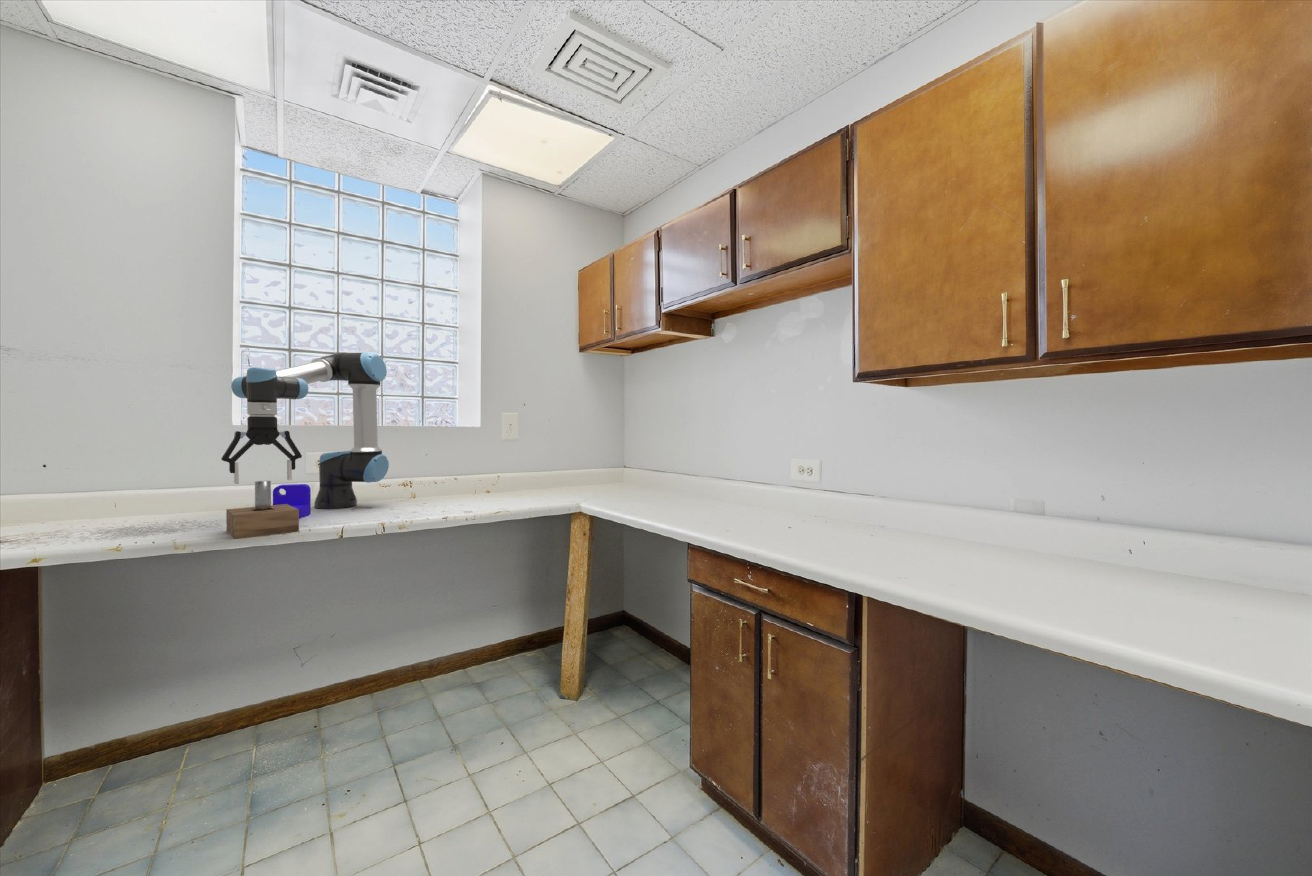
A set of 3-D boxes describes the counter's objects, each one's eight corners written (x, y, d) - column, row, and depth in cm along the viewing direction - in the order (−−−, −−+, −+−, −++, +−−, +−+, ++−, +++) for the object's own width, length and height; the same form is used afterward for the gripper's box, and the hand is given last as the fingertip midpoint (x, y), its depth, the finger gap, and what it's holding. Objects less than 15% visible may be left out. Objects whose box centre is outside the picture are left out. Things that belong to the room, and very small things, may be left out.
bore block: (226, 530, 159) (226, 509, 159) (287, 524, 171) (287, 504, 171) (234, 538, 148) (234, 515, 148) (298, 531, 160) (298, 509, 160)
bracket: (275, 515, 186) (275, 484, 186) (310, 514, 191) (310, 483, 191) (263, 524, 170) (263, 490, 170) (301, 522, 175) (301, 489, 175)
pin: (253, 524, 159) (253, 481, 159) (269, 522, 162) (269, 480, 162) (256, 526, 157) (256, 482, 156) (272, 524, 159) (271, 481, 159)
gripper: (212, 415, 147) (213, 486, 148) (311, 416, 165) (312, 479, 166) (208, 415, 152) (210, 483, 153) (305, 416, 170) (306, 477, 171)
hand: (263, 481), depth 159 cm, fingers open, 13 cm apart
